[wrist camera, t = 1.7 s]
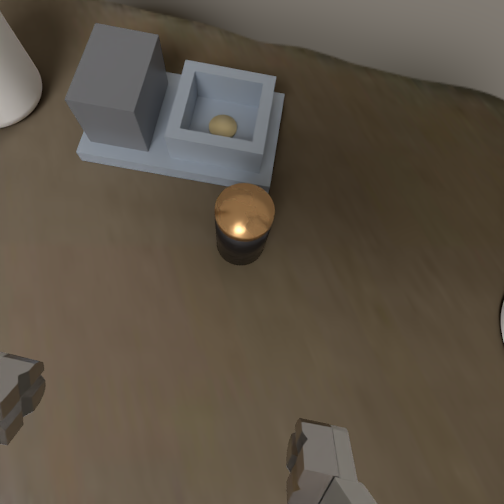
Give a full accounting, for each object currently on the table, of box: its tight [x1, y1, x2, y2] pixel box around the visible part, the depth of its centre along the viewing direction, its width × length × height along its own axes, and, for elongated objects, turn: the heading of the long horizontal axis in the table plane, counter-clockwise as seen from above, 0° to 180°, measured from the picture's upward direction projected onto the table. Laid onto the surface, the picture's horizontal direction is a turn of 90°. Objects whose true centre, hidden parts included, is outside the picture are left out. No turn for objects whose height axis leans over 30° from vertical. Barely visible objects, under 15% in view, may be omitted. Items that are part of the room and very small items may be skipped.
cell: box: [215, 183, 275, 265], centre depth 31 cm, size 5×5×8 cm
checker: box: [65, 23, 285, 193], centre depth 35 cm, size 20×12×8 cm, turn 81°
